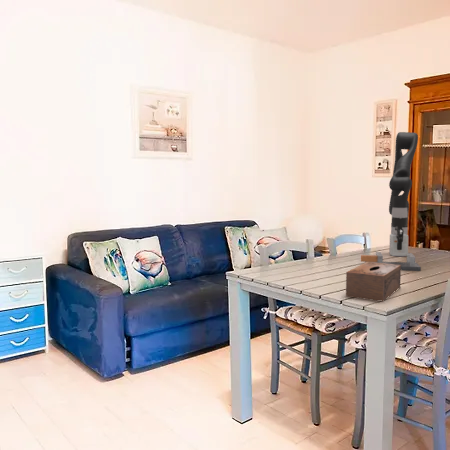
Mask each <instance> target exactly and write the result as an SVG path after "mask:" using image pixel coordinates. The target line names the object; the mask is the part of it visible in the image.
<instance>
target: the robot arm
mask: <svg viewBox="0 0 450 450" xmlns="http://www.w3.org/2000/svg"><path fill="white" fill-rule="evenodd" d="M418 141H419V135H418V133H417V132H409V131H408V132H407V131H398V133H397V134H396V137H395V146H394V147H395V148H394V149H395V151H394V153H395V154H394V164H393V170H392V171H393V172H392V176H391V178H390V181H389V183H388V186H389V189H390V190H391V193H390V198H389V204H388V205H389V206H388V212H389V214H390V216H391V224H390V234H396V238H397V250H402V242H403V234H406V235H408V230H409V225H408V224H409V212H410V201H409V200H408V198H409V194H410V192H411V189H412V184H413V181H412V179H411V168H412V162H413V159H414V156H415V153H416V150H417V147H418ZM403 150H406V153H405V154H403V152H402V151H403ZM401 193H402V194H401ZM397 235H398V236H397ZM399 238H401V240H400V239H399Z"/></svg>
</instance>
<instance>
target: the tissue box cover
mask: <svg viewBox="0 0 450 450" xmlns="http://www.w3.org/2000/svg"><path fill="white" fill-rule="evenodd" d="M401 272H402V270H401V265H394V264H384V263H373V262H366V263H365V262H364V263H361V264H360V265H357V266H355V267H353V268H352V269H350V270H348V271H346V274H345V275H346V276H345V277H346V278H345V279H346V280H345V296H346V297H350V298H357V299H363V298H365V300H370V299H373V300H372V301H377V300H382V301H381V302H384V301H385V300H387V299H388V298H389V297H391V296H392V295H393V294H394V293H395V292H397V291H398V290H399V289H400V288H401V279H402V277H401V274H402V273H401ZM399 287H400V288H399ZM398 288H399V289H398ZM397 289H398V290H397ZM396 290H397V291H396ZM394 291H395V292H394ZM393 292H394V293H393ZM392 293H393V294H392ZM391 294H392V295H391ZM388 296H389V297H388ZM387 297H388V298H387ZM386 298H387V299H386ZM383 300H384V301H383Z"/></svg>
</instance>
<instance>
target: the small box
mask: <svg viewBox="0 0 450 450" xmlns="http://www.w3.org/2000/svg"><path fill="white" fill-rule="evenodd" d="M397 236H398V235H397ZM399 239H400V240H401V238H399ZM408 253H409V235H408V234H407V235H406V234H403V242H402V250H397V238H396V234H391V233H390V234H389V255H390V256H393V257H407V256H408Z"/></svg>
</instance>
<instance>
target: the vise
mask: <svg viewBox="0 0 450 450" xmlns="http://www.w3.org/2000/svg"><path fill="white" fill-rule="evenodd" d="M364 263H366V262H364ZM373 263H376V262H373ZM383 263H384V264H394V265H401V271H405V272H406V271H408V272H409V271H411V272H412V271H413V272H421V270H422V269H421V268H422V267H421V266H420V264H419V263H418V262H416V256H415V255H414V253H412V252H408V256H406V261H402V262H399V261H383Z"/></svg>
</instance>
